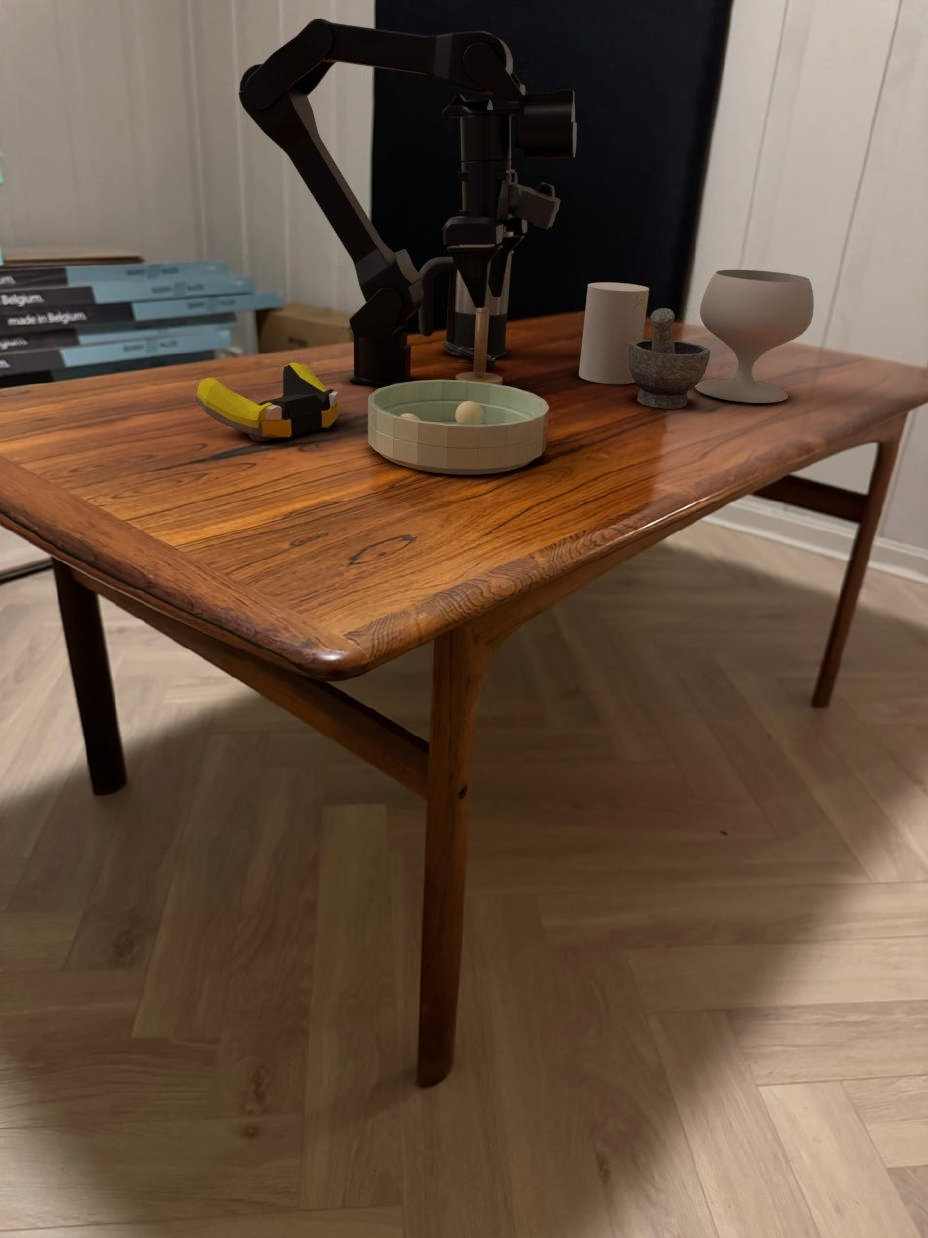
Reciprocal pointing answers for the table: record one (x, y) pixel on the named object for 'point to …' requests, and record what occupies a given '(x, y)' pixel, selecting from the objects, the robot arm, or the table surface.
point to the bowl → (457, 426)
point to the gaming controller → (273, 406)
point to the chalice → (753, 325)
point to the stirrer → (480, 352)
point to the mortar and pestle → (666, 364)
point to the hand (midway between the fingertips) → (488, 302)
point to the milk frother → (464, 312)
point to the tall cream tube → (611, 331)
